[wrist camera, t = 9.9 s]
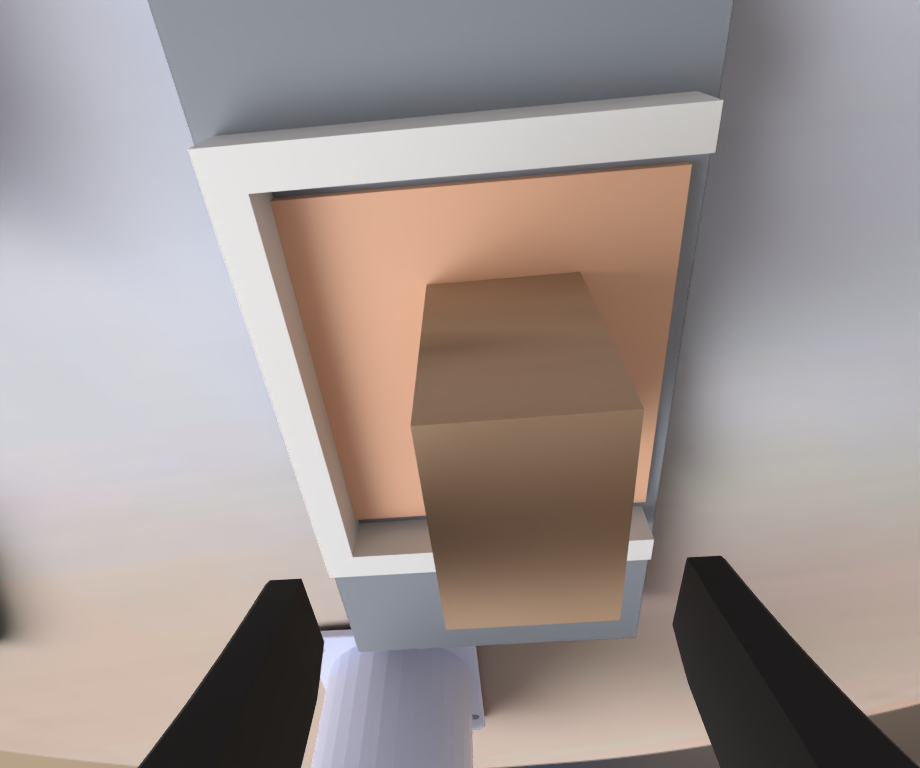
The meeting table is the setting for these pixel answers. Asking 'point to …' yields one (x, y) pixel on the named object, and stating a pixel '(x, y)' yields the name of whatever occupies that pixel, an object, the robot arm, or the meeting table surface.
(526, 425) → the brown rectangular block
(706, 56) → the frame
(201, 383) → the meeting table surface
